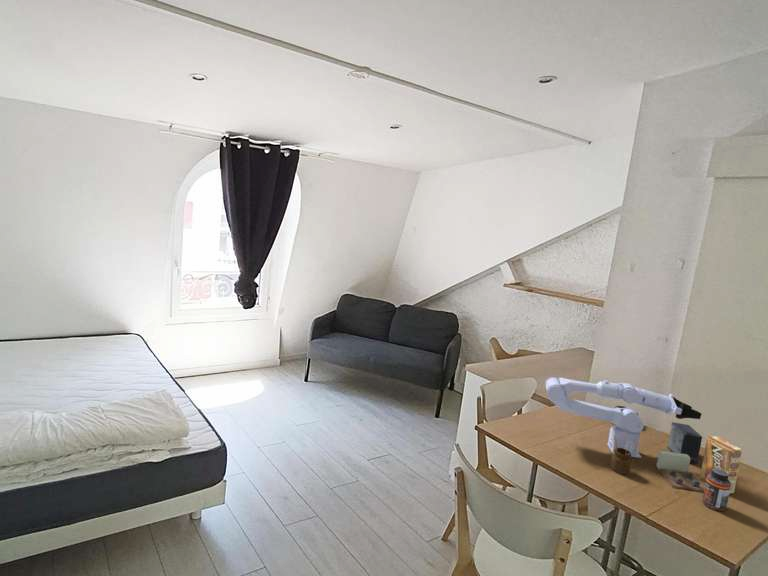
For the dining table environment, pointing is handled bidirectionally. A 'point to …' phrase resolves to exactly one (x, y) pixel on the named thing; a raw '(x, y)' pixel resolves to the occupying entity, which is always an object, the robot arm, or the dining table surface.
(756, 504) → the dining table surface
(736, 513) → the dining table surface
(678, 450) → the small box
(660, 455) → the door
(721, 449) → the candy box
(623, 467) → the utensil holder
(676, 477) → the side panel
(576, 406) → the robot arm
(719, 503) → the supplement bottle
